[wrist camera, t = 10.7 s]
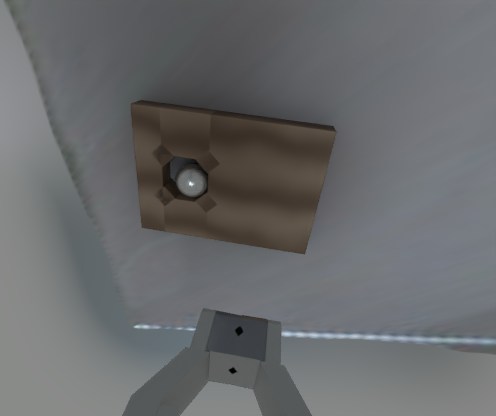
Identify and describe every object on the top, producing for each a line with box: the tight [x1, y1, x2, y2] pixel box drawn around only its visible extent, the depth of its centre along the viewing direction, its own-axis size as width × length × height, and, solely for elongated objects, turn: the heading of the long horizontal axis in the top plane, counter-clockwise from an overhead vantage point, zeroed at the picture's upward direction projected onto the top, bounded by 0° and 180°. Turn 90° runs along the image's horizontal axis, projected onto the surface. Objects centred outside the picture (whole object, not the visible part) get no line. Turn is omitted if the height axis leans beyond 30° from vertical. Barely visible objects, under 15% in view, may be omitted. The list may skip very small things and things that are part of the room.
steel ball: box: [176, 164, 208, 197], centre depth 35 cm, size 4×4×4 cm
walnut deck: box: [131, 100, 336, 254], centre depth 35 cm, size 16×22×2 cm
